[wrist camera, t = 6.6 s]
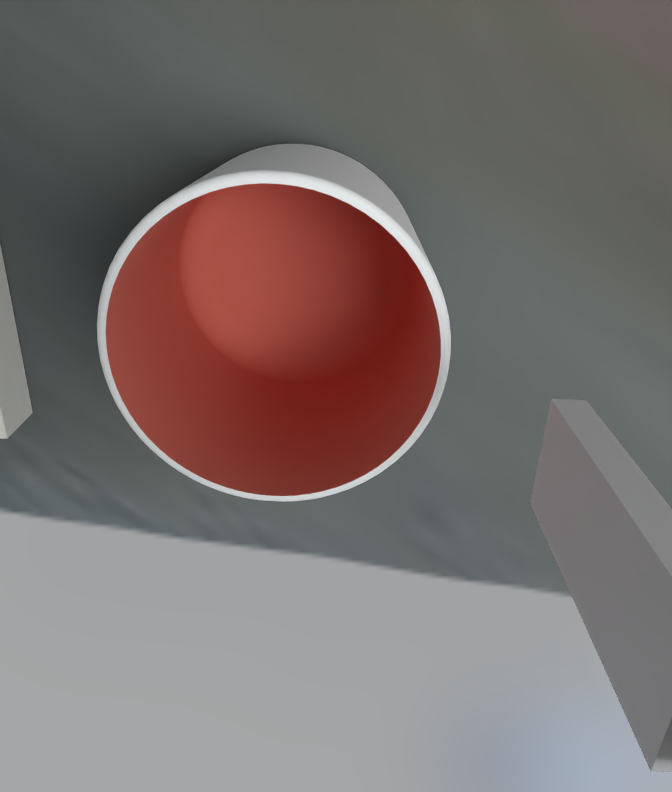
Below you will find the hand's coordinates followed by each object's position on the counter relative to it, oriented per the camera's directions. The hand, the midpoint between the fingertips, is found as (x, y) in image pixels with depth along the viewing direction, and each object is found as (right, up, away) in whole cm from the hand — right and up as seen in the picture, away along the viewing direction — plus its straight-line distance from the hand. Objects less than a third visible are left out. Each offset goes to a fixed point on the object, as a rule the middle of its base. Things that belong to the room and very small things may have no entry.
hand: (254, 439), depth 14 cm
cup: (0, +6, +13) cm, 14 cm away
